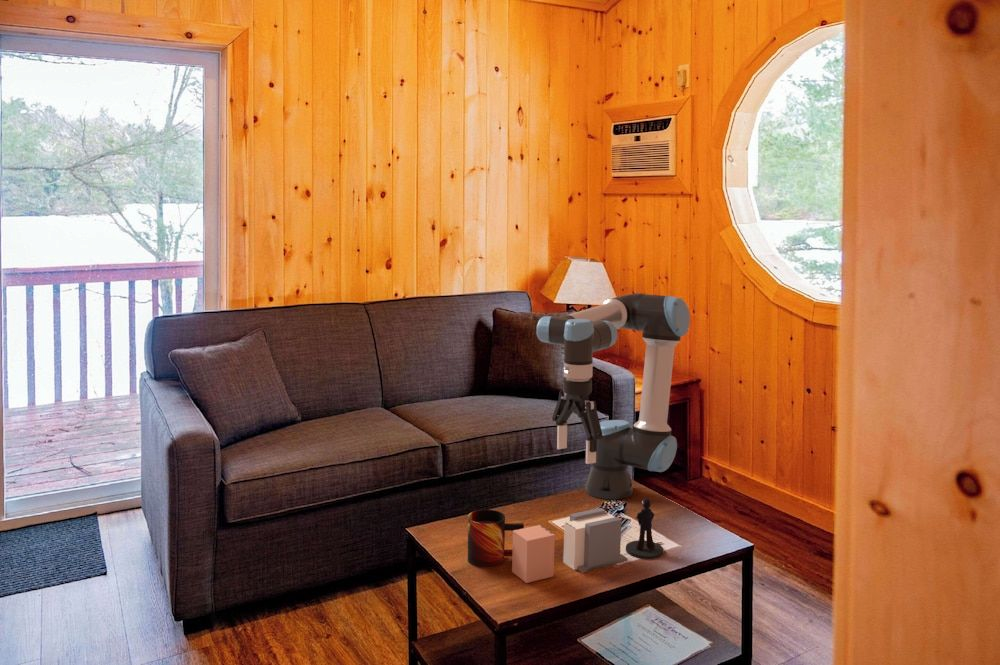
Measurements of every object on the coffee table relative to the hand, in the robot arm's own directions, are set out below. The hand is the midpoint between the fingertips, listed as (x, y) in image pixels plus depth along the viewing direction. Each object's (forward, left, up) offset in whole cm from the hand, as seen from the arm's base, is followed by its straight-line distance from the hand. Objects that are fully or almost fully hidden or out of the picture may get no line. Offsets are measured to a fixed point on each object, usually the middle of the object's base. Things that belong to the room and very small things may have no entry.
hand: (575, 455), depth 223 cm
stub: (+18, +9, -26) cm, 33 cm away
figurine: (-16, +11, -26) cm, 33 cm away
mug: (+23, -4, -26) cm, 35 cm away
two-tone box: (+1, +9, -26) cm, 28 cm away
